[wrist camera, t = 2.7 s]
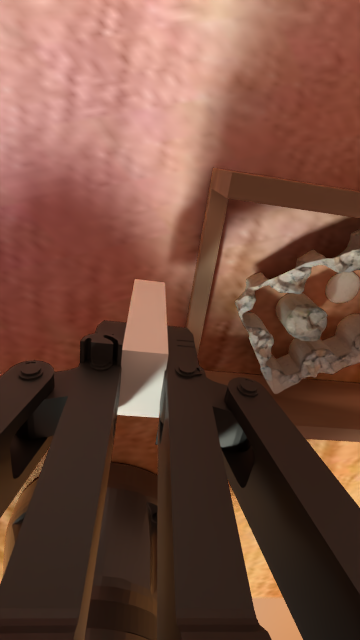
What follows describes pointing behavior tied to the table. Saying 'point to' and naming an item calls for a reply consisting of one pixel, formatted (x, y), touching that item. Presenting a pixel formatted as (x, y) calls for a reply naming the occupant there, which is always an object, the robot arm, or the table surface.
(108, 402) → the robot arm
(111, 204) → the table surface
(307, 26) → the table surface
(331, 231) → the table surface
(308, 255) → the egg carton
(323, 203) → the brown u-shaped frame
